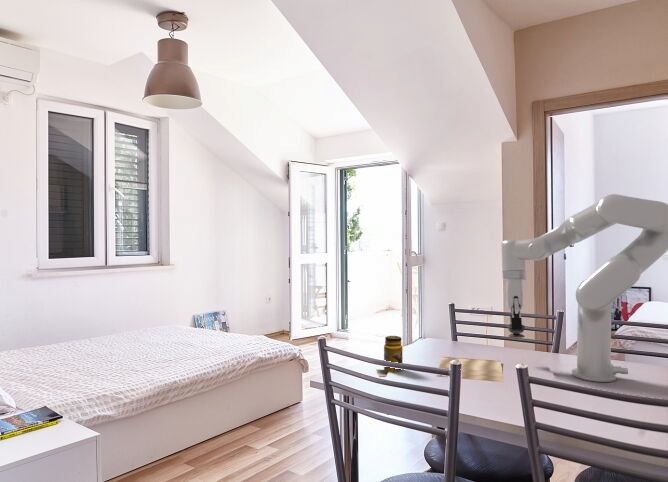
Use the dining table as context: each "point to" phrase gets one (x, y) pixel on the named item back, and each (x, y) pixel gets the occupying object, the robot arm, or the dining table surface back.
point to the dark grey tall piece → (515, 332)
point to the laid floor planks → (480, 375)
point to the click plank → (473, 364)
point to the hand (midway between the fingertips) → (516, 327)
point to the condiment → (391, 354)
